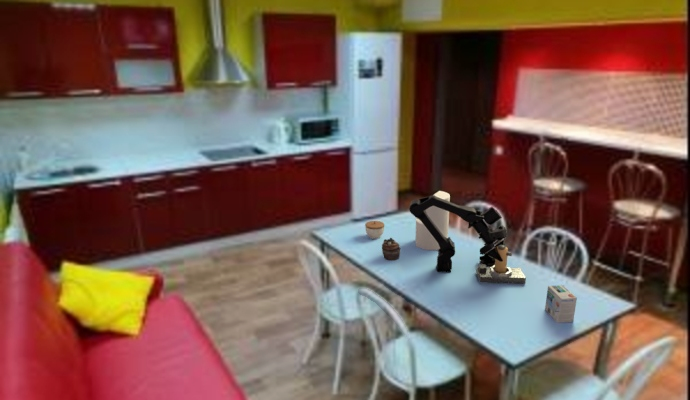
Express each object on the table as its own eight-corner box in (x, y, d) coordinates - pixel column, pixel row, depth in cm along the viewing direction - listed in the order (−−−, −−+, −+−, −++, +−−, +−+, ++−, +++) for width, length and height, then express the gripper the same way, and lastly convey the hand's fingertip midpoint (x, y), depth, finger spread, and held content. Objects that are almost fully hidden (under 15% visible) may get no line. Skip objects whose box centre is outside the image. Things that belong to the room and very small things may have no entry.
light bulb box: (544, 308, 195) (547, 285, 192) (560, 307, 196) (563, 284, 193) (557, 323, 185) (560, 298, 182) (574, 322, 186) (577, 297, 182)
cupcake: (391, 263, 239) (391, 244, 236) (377, 257, 246) (378, 239, 243) (404, 257, 245) (404, 239, 242) (390, 251, 252) (391, 234, 248)
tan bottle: (492, 272, 220) (494, 247, 216) (497, 268, 224) (498, 243, 220) (508, 276, 216) (509, 250, 212) (512, 272, 219) (514, 246, 215)
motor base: (480, 282, 217) (480, 273, 216) (476, 272, 227) (476, 263, 225) (525, 283, 216) (526, 273, 214) (519, 273, 225) (520, 264, 224)
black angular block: (503, 266, 233) (505, 254, 231) (492, 269, 230) (493, 256, 228) (489, 258, 241) (490, 246, 239) (478, 261, 238) (479, 249, 236)
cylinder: (452, 241, 263) (454, 193, 254) (440, 252, 249) (442, 202, 240) (423, 235, 272) (424, 188, 263) (410, 246, 258) (411, 196, 249)
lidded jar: (384, 240, 266) (384, 224, 263) (365, 240, 266) (365, 224, 264) (383, 233, 276) (383, 217, 273) (365, 233, 277) (364, 218, 274)
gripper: (488, 228, 208) (511, 257, 205) (504, 216, 222) (525, 243, 219) (470, 240, 215) (491, 269, 212) (486, 228, 229) (507, 254, 226)
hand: (504, 258), depth 217 cm, fingers open, 6 cm apart
